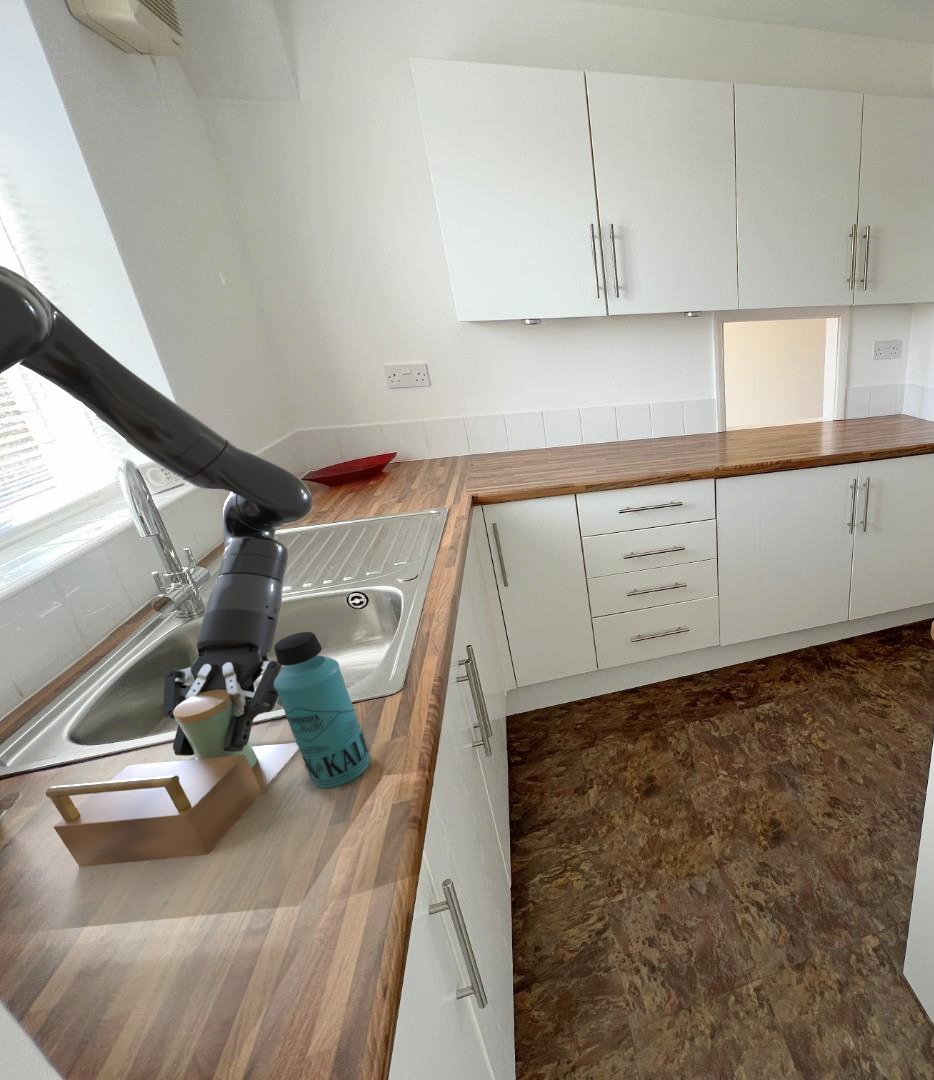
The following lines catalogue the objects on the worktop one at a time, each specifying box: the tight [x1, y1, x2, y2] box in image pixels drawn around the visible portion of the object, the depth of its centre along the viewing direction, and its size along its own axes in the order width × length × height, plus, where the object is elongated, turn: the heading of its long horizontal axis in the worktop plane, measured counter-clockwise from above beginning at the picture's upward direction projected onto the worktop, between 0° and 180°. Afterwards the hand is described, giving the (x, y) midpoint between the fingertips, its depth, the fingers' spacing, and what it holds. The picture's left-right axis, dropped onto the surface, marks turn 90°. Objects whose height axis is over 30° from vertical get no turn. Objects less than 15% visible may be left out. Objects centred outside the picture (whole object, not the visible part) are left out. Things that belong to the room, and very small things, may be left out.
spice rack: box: [45, 742, 300, 868], centre depth 67 cm, size 13×17×11 cm
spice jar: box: [173, 689, 257, 768], centre depth 71 cm, size 5×5×10 cm
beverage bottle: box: [273, 631, 372, 789], centre depth 68 cm, size 6×7×20 cm
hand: (209, 752), depth 69 cm, fingers closed on spice jar, 5 cm apart
